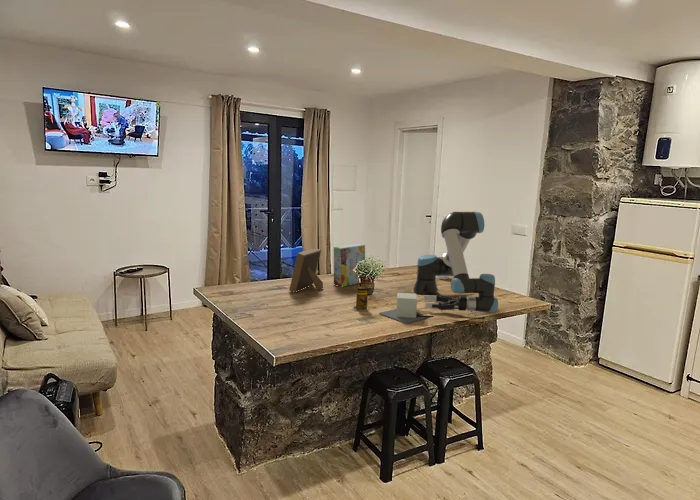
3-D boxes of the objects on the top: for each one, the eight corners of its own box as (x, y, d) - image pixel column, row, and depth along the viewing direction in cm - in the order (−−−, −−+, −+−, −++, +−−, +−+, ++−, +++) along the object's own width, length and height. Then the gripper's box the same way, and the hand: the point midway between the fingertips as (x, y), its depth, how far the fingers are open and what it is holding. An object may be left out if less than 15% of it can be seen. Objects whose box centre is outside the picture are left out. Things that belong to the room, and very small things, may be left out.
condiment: (365, 311, 248) (366, 289, 246) (350, 309, 250) (351, 288, 248) (369, 307, 255) (370, 286, 253) (354, 306, 257) (355, 285, 255)
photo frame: (289, 292, 283) (289, 251, 278) (307, 284, 302) (307, 246, 298) (310, 295, 277) (311, 254, 272) (327, 287, 296) (328, 249, 292)
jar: (441, 280, 324) (442, 263, 322) (433, 277, 331) (434, 261, 329) (451, 278, 329) (452, 262, 327) (442, 276, 336) (443, 260, 334)
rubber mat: (378, 313, 244) (379, 312, 244) (405, 307, 256) (405, 306, 256) (406, 324, 229) (406, 322, 228) (433, 316, 241) (433, 315, 241)
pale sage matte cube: (396, 316, 238) (397, 297, 236) (396, 310, 248) (397, 292, 246) (416, 317, 237) (417, 298, 235) (415, 311, 247) (416, 293, 245)
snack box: (356, 280, 318) (357, 243, 313) (365, 282, 311) (366, 244, 307) (332, 285, 303) (333, 246, 299) (341, 287, 297) (342, 248, 292)
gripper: (469, 318, 226) (425, 315, 229) (462, 303, 251) (423, 301, 253) (470, 303, 225) (426, 300, 227) (463, 290, 249) (423, 288, 252)
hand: (424, 301), depth 240 cm, fingers open, 13 cm apart
